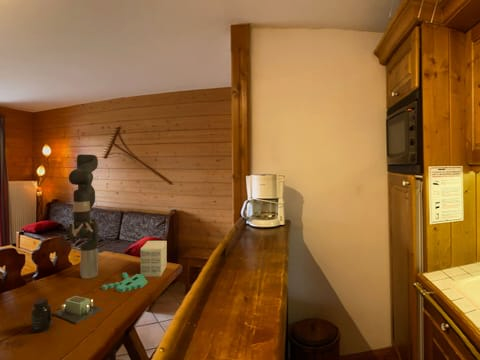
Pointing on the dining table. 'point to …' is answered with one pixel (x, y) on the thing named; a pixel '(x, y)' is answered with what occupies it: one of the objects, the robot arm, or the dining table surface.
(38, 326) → the supplement bottle
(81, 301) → the block
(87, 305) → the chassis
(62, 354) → the dining table surface
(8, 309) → the dining table surface
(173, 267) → the dining table surface
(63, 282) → the dining table surface
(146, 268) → the supplement box
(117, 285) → the alien figure
